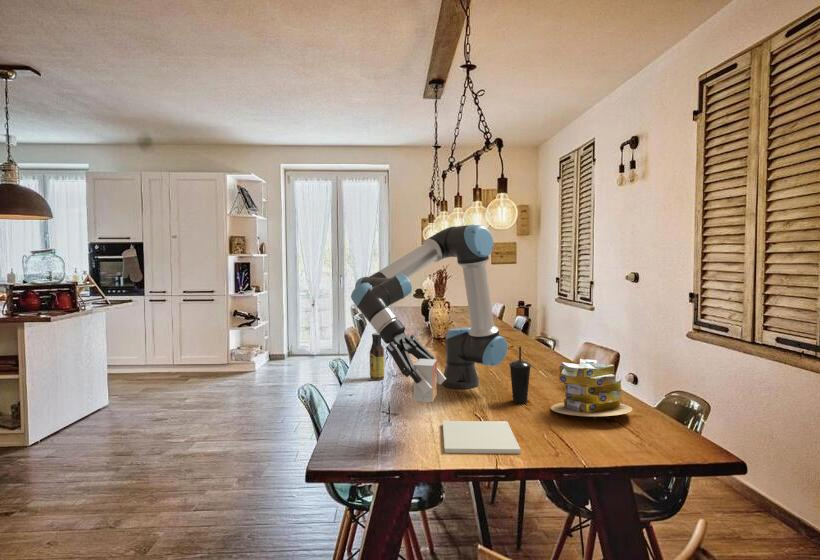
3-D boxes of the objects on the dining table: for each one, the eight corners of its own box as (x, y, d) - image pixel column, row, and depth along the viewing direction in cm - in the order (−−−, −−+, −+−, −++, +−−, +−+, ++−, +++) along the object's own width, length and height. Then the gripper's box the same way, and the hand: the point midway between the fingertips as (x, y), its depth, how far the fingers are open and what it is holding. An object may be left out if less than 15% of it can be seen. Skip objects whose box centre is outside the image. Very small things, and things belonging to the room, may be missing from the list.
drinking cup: (532, 399, 161) (532, 345, 160) (529, 406, 154) (529, 349, 153) (511, 397, 164) (511, 343, 163) (507, 403, 158) (507, 347, 157)
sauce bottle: (370, 377, 195) (369, 332, 194) (384, 376, 195) (383, 331, 194) (369, 381, 188) (369, 334, 187) (384, 380, 189) (384, 334, 188)
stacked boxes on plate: (537, 404, 156) (537, 357, 155) (599, 398, 162) (599, 353, 161) (579, 431, 132) (579, 376, 131) (650, 423, 138) (651, 370, 137)
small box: (432, 402, 124) (432, 365, 124) (413, 401, 126) (413, 364, 125) (437, 393, 132) (437, 359, 132) (419, 392, 134) (419, 358, 133)
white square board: (442, 424, 138) (442, 421, 138) (507, 425, 137) (507, 421, 137) (444, 452, 118) (444, 448, 118) (520, 453, 117) (520, 449, 117)
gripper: (399, 329, 145) (443, 384, 138) (360, 340, 126) (409, 405, 119) (413, 314, 142) (459, 369, 135) (375, 323, 123) (427, 388, 116)
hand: (435, 386), depth 127 cm, fingers closed on small box, 9 cm apart
